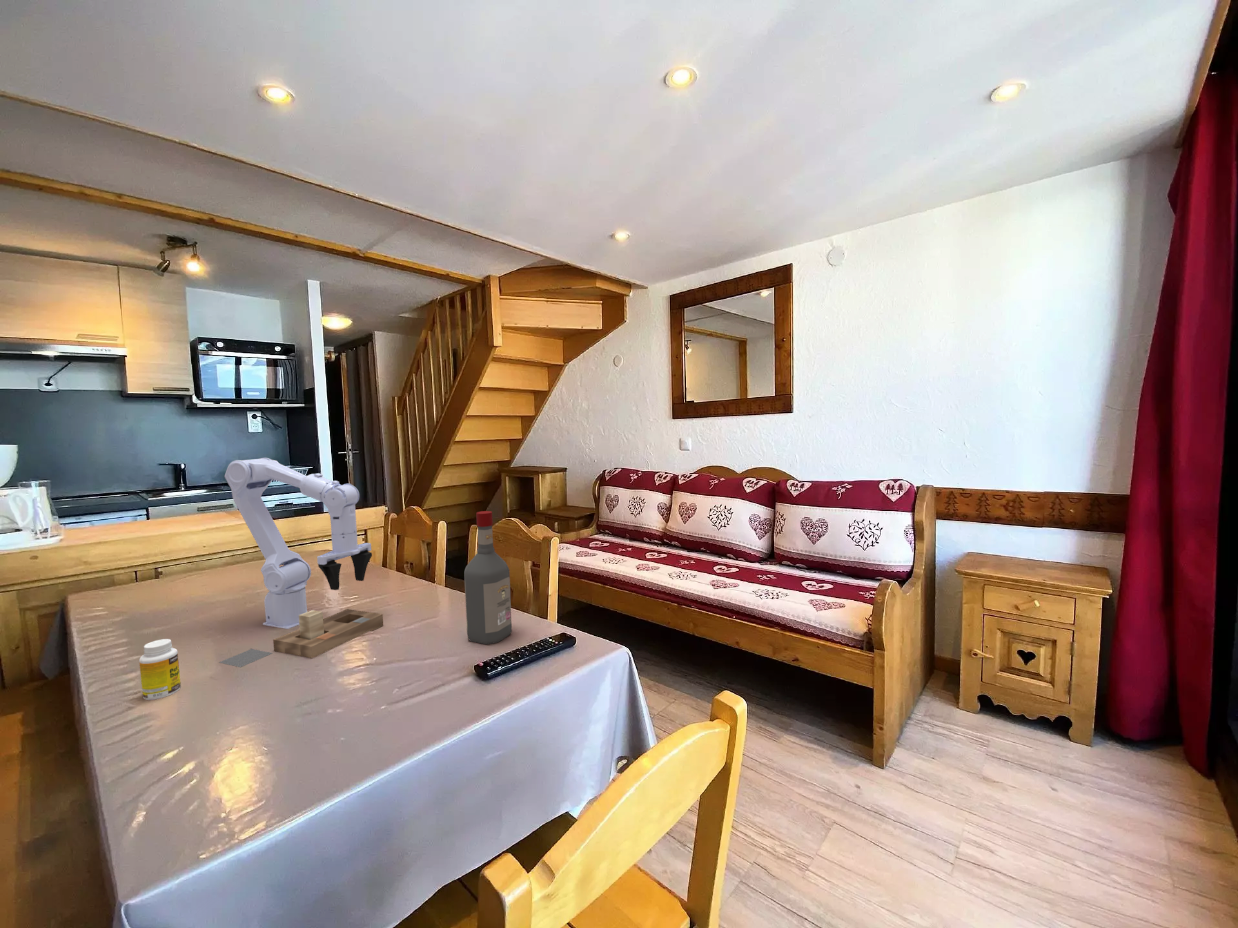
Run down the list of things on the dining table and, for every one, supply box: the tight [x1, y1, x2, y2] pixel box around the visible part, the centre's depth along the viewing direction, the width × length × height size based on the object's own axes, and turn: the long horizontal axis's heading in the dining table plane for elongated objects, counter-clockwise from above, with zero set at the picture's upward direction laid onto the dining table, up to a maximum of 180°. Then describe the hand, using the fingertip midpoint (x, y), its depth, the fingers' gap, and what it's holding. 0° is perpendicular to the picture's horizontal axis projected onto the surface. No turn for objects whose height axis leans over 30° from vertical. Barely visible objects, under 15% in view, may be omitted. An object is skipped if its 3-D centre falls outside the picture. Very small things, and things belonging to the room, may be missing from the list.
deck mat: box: [218, 648, 273, 668], centre depth 114 cm, size 7×7×1 cm
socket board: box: [272, 608, 384, 659], centre depth 125 cm, size 12×20×3 cm, turn 159°
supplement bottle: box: [138, 638, 182, 701], centre depth 100 cm, size 6×6×10 cm
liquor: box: [463, 510, 513, 645], centre depth 123 cm, size 9×9×30 cm
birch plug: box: [298, 609, 324, 640], centre depth 120 cm, size 3×3×8 cm
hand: (347, 584), depth 132 cm, fingers open, 7 cm apart
